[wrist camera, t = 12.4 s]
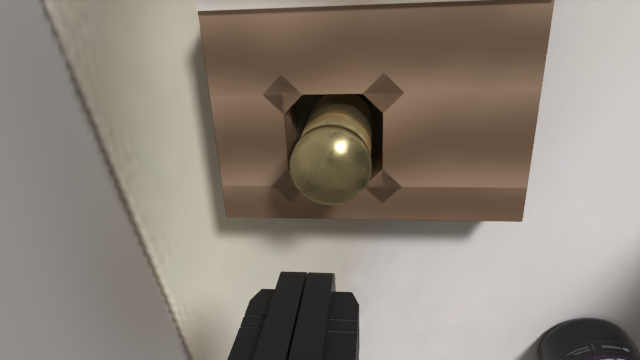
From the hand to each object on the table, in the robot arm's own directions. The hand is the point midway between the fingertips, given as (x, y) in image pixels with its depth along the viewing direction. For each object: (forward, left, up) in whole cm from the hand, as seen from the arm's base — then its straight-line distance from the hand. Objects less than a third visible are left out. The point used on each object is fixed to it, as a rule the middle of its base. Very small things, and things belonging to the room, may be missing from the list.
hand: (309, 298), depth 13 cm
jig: (-1, +1, -19) cm, 19 cm away
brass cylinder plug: (+1, -1, -19) cm, 19 cm away
